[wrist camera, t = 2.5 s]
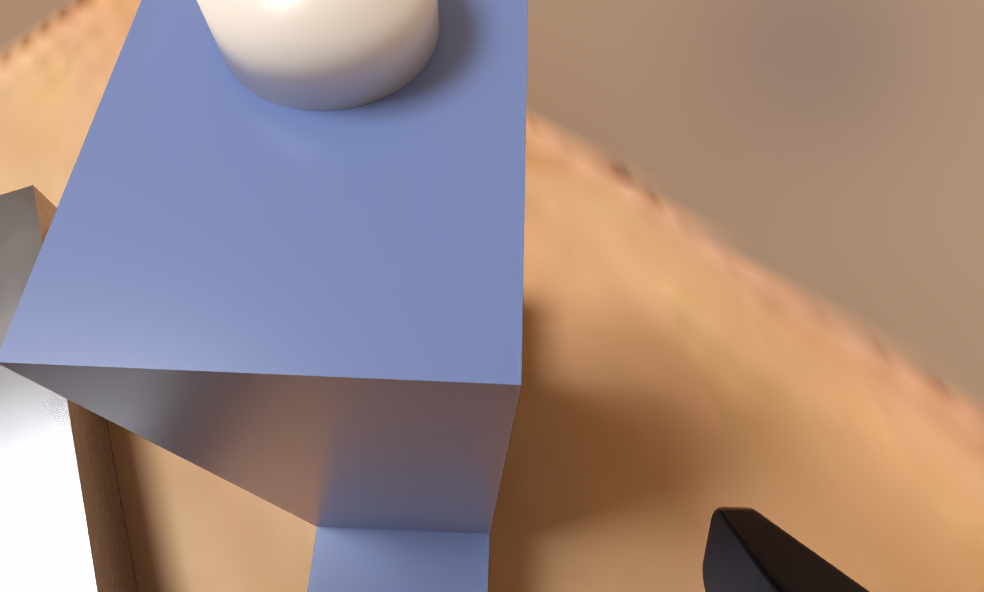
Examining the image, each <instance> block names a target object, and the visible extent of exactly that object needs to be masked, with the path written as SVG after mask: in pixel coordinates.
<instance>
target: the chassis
mask: <svg viewBox="0 0 984 592" xmlns="http://www.w3.org/2000/svg"><path fill="white" fill-rule="evenodd" d="M56 210H57V208H56V207H55V206H54V205H53V204H52V203H51V202H50V201H49V200H48V199H47V198H46V197H45V196H44V195H43V194H42V193H40V192H39V191H38V190H37V189H36V188H35V187H34V186H33V185H32V186H29V187H26V188H22V189H19V190H16V191H12V192H9V193H6V194H3V195H0V348H1V346H2V343H3V341H4V338H5V336H6V333H7V331H8V329H9V326H10V324H11V321H12V319H13V316H14V314H15V311H16V309H17V306H18V304H19V301H20V299H21V296H22V294H23V292H24V289H25V287H26V284H27V282H28V279H29V277H30V274H31V272H32V269H33V267H34V264H35V262H36V260H37V257H38V255H39V252H40V250H41V247H42V245H43V242H44V240H45V237H46V235H47V232H48V230H49V227H50V225H51V223H52V220H53V218H54V215H55V213H56ZM0 592H138V591H137V586H136V580H135V575H134V570H133V564H132V559H131V553H130V548H129V542H128V537H127V531H126V526H125V520H124V515H123V509H122V504H121V498H120V493H119V488H118V482H117V477H116V471H115V466H114V460H113V455H112V449H111V444H110V438H109V433H108V427H107V422H106V419H105V418H104V417H102V416H100V415H98V414H96V413H94V412H92V411H90V410H88V409H86V408H84V407H82V406H80V405H78V404H76V403H74V402H72V401H70V400H68V399H66V398H64V397H62V396H60V395H58V394H56V393H55V392H53V391H51V390H49V389H47V388H45V387H43V386H41V385H39V384H37V383H35V382H33V381H31V380H29V379H27V378H25V377H23V376H21V375H19V374H17V373H15V372H13V371H11V370H9V369H8V368H6V367H4V366H2V365H0Z"/></svg>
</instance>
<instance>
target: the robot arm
mask: <svg viewBox="0 0 984 592" xmlns="http://www.w3.org/2000/svg"><path fill="white" fill-rule="evenodd" d="M703 581H704V587H705V591H706V592H869V591H868V590H866V589H865V588H864V587H862V586H861V585H859V584H858V583H857V582H855V581H854V580H852V579H851V578H850V577H848V576H847V575H845V574H844V573H843V572H841V571H840V570H838V569H837V568H836V567H834V566H833V565H831V564H830V563H829V562H827V561H826V560H824V559H823V558H821V557H820V556H819V555H817V554H816V553H814V552H813V551H812V550H810V549H809V548H807V547H806V546H805V545H803V544H802V543H800V542H799V541H798V540H796V539H795V538H793V537H792V536H791V535H789V534H788V533H786V532H785V531H784V530H782V529H781V528H779V527H778V526H777V525H775V524H774V523H772V522H771V521H770V520H768V519H767V518H765V517H764V516H763V515H761V514H760V513H758V512H757V511H755V510H754V509H751V508H744V507H719V508H717V509H716V510H715V511H714V513H713V515H712V519H711V523H710V529H709V534H708V539H707V544H706V550H705V555H704V560H703Z"/></svg>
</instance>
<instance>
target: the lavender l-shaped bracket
mask: <svg viewBox="0 0 984 592" xmlns="http://www.w3.org/2000/svg"><path fill="white" fill-rule="evenodd" d="M527 21H528V0H142V1H141V3H140V6H139V8H138V11H137V13H136V16H135V18H134V20H133V23H132V25H131V28H130V30H129V33H128V35H127V38H126V40H125V43H124V45H123V48H122V50H121V52H120V55H119V57H118V60H117V62H116V65H115V67H114V70H113V72H112V75H111V77H110V80H109V82H108V85H107V87H106V89H105V92H104V94H103V97H102V99H101V102H100V104H99V107H98V109H97V112H96V114H95V117H94V119H93V121H92V124H91V126H90V129H89V131H88V134H87V136H86V139H85V141H84V144H83V146H82V149H81V151H80V154H79V156H78V158H77V161H76V163H75V166H74V168H73V171H72V173H71V176H70V178H69V181H68V183H67V186H66V188H65V191H64V193H63V195H62V198H61V200H60V203H59V205H58V208H57V210H56V213H55V215H54V218H53V220H52V223H51V225H50V227H49V230H48V232H47V235H46V237H45V240H44V242H43V245H42V247H41V250H40V252H39V255H38V257H37V260H36V262H35V264H34V267H33V269H32V272H31V274H30V277H29V279H28V282H27V284H26V287H25V289H24V292H23V294H22V296H21V299H20V301H19V304H18V306H17V309H16V311H15V314H14V316H13V319H12V321H11V324H10V326H9V329H8V331H7V333H6V336H5V338H4V341H3V343H2V346H1V348H0V365H2V366H4V367H6V368H8V369H9V370H11V371H13V372H15V373H17V374H19V375H21V376H23V377H25V378H27V379H29V380H31V381H33V382H35V383H37V384H39V385H41V386H43V387H45V388H47V389H49V390H51V391H53V392H55V393H56V394H58V395H60V396H62V397H64V398H66V399H68V400H70V401H72V402H74V403H76V404H78V405H80V406H82V407H84V408H86V409H88V410H90V411H92V412H94V413H96V414H98V415H100V416H102V417H104V418H105V419H107V420H109V421H111V422H113V423H115V424H117V425H119V426H121V427H123V428H125V429H127V430H129V431H131V432H133V433H135V434H137V435H139V436H141V437H143V438H145V439H147V440H149V441H151V442H152V443H154V444H156V445H158V446H160V447H162V448H164V449H166V450H168V451H170V452H172V453H174V454H176V455H178V456H180V457H182V458H184V459H186V460H188V461H190V462H192V463H194V464H196V465H198V466H199V467H201V468H203V469H205V470H207V471H209V472H211V473H213V474H215V475H217V476H219V477H221V478H223V479H225V480H227V481H229V482H231V483H233V484H235V485H237V486H239V487H241V488H243V489H245V490H247V491H248V492H250V493H252V494H254V495H256V496H258V497H260V498H262V499H264V500H266V501H268V502H270V503H272V504H274V505H276V506H278V507H280V508H282V509H284V510H286V511H288V512H290V513H292V514H294V515H295V516H297V517H299V518H301V519H303V520H305V521H307V522H309V523H311V524H313V525H315V526H317V531H316V538H315V545H314V551H313V558H312V565H311V571H310V578H309V585H308V591H307V592H488V567H489V539H490V530H491V525H492V521H493V516H494V511H495V507H496V502H497V497H498V492H499V488H500V483H501V478H502V474H503V469H504V464H505V459H506V455H507V450H508V445H509V441H510V436H511V431H512V427H513V422H514V417H515V412H516V408H517V403H518V398H519V394H520V389H521V377H522V319H523V260H524V202H525V144H526V86H527V85H526V84H527V28H528V27H527V26H528V22H527Z"/></svg>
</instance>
